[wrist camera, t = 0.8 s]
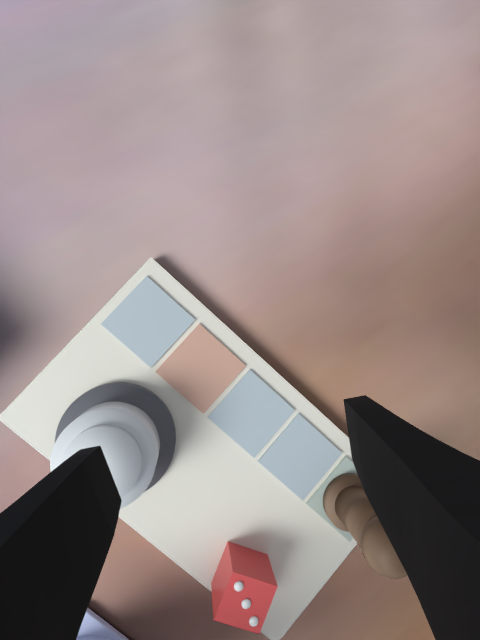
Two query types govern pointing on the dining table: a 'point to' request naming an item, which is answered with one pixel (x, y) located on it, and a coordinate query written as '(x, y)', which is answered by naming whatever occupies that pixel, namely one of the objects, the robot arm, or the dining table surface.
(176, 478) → the game board
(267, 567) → the red die
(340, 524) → the pawn
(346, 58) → the dining table surface
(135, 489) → the dome
